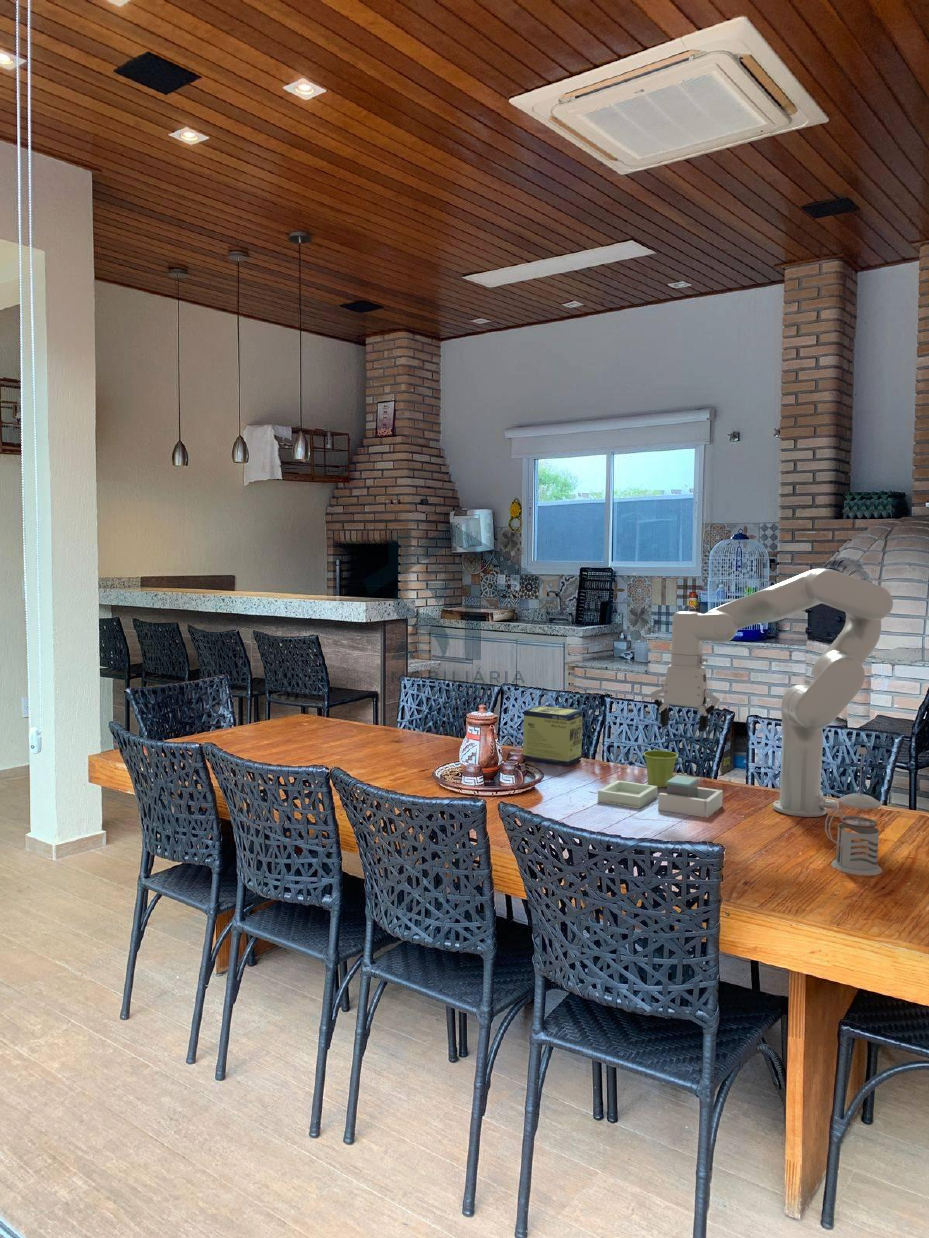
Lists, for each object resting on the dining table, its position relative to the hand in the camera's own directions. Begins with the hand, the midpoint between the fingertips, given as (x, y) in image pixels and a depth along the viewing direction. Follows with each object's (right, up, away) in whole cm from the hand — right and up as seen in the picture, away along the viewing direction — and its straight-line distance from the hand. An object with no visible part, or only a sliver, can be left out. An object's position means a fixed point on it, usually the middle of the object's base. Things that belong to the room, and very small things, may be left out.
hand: (683, 728), depth 235 cm
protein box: (-28, -16, +52) cm, 61 cm away
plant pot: (-1, -19, +23) cm, 30 cm away
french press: (+25, -24, -42) cm, 55 cm away
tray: (-13, -19, +8) cm, 24 cm away
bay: (+2, -20, 0) cm, 20 cm away
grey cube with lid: (0, -20, +1) cm, 20 cm away
